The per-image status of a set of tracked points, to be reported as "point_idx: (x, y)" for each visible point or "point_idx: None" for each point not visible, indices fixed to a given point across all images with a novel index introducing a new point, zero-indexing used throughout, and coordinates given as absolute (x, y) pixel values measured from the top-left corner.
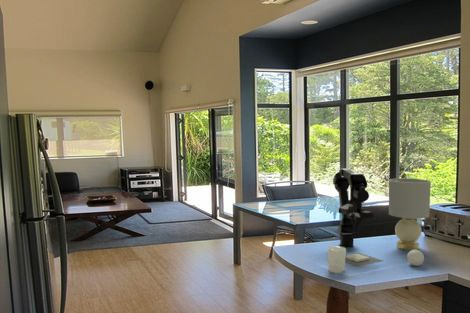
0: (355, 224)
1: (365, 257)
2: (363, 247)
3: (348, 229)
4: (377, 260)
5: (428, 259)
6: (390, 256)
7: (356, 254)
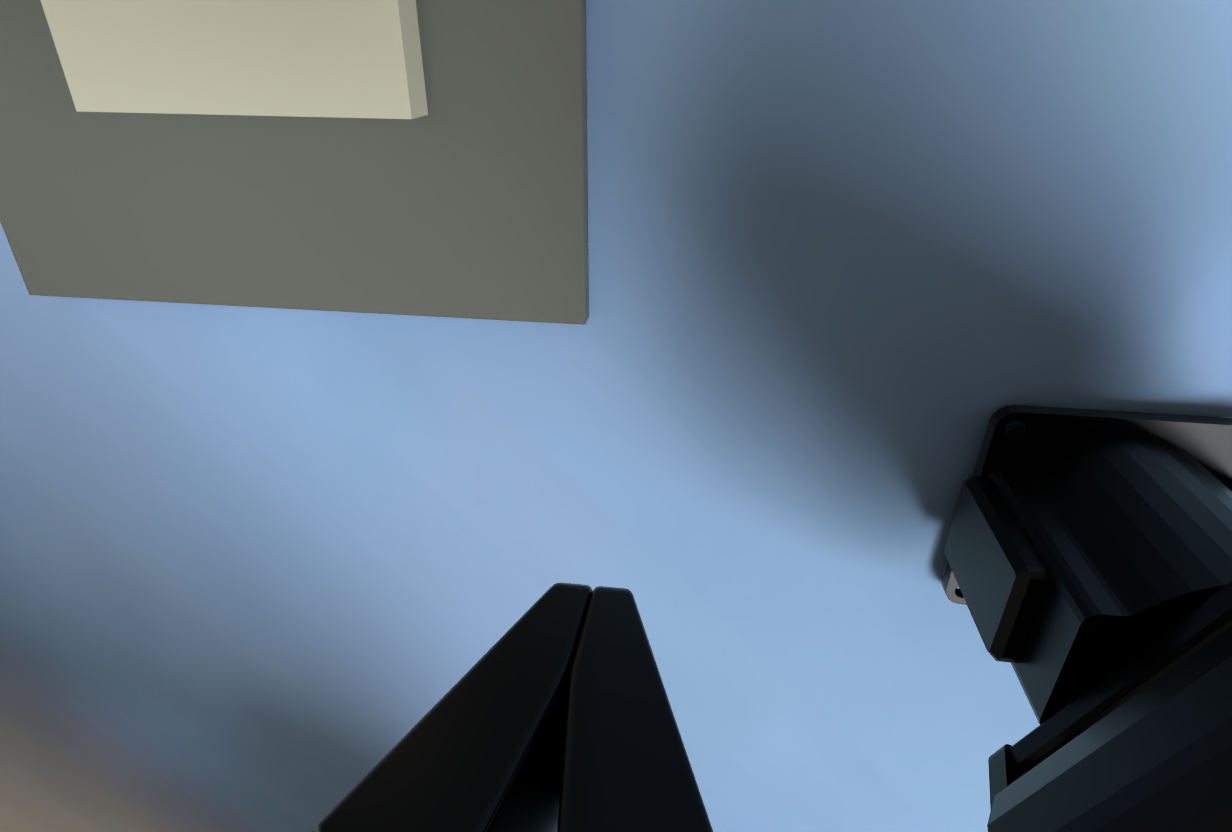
0: (372, 784)
1: (91, 27)
2: (843, 660)
3: (1171, 748)
4: (65, 213)
5: (85, 753)
6: (297, 577)
7: (350, 36)
